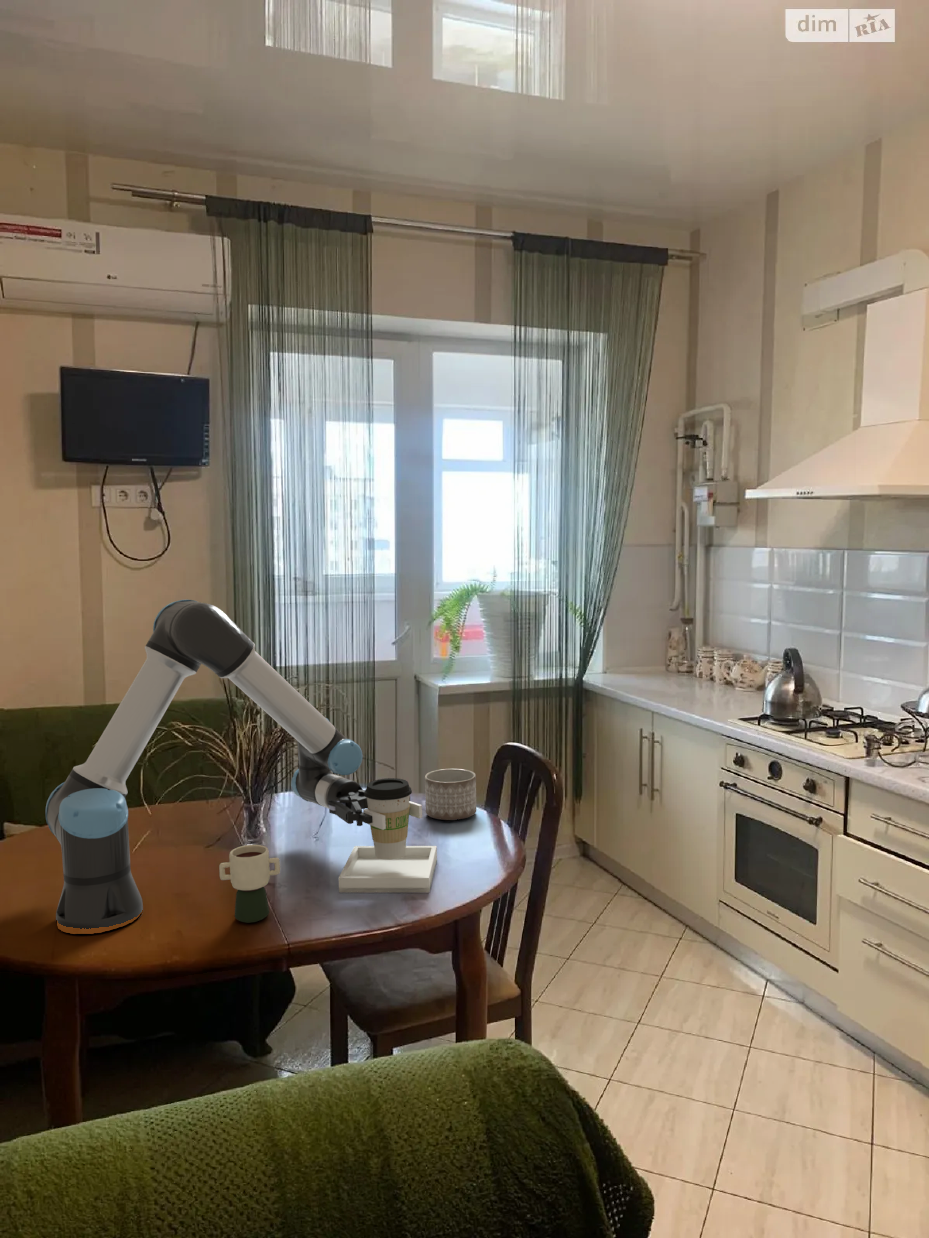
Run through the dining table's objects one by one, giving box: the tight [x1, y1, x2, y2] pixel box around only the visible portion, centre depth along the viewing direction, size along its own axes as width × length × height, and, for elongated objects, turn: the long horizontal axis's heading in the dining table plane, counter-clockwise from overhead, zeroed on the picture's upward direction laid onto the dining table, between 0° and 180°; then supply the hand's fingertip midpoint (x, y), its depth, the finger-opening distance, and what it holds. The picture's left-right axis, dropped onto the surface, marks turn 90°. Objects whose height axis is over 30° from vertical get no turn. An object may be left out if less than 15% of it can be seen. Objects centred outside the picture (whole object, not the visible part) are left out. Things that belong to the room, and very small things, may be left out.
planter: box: [424, 768, 477, 821], centre depth 224 cm, size 13×13×10 cm
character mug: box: [218, 844, 281, 924], centre depth 167 cm, size 11×7×13 cm, turn 102°
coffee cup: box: [364, 777, 413, 860], centre depth 186 cm, size 10×10×15 cm
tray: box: [338, 845, 438, 894], centre depth 187 cm, size 18×18×3 cm
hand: (402, 817), depth 182 cm, fingers closed on coffee cup, 9 cm apart
